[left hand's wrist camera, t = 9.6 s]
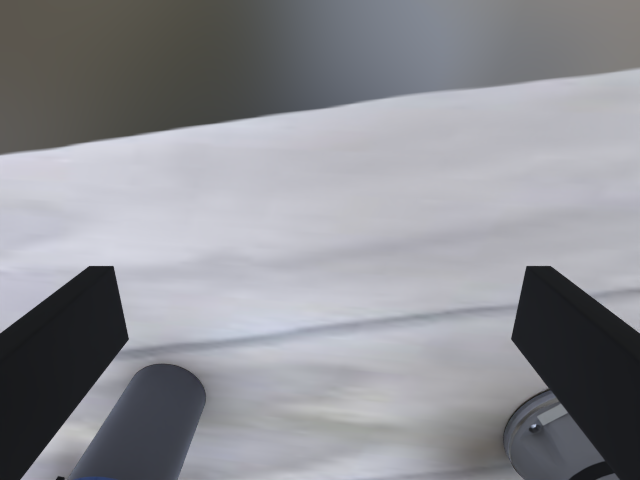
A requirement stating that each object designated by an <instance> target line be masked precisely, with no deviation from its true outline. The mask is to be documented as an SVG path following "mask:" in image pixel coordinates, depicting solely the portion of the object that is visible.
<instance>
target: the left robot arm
mask: <svg viewBox="0 0 640 480" xmlns="http://www.w3.org/2000/svg"><path fill="white" fill-rule="evenodd" d="M128 340H129V338H128V333H127V328H126V323H125V319H124V314H123V309H122V304H121V300H120V295H119V290H118V285H117V281H116V276H115V271H114V266H89V267H88V268H86V269H85V270H84V271H82V272H81V273H80V274H78V275H77V276H76V277H74V278H73V279H72V280H70V281H69V282H68V283H66V284H65V285H64V286H62V287H61V288H60V289H58V290H57V291H56V292H55V293H53V294H52V295H51V296H49V297H48V298H47V299H45V300H44V301H43V302H41V303H40V304H39V305H37V306H36V307H35V308H33V309H32V310H31V311H29V312H28V313H27V314H25V315H24V316H23V317H21V318H20V319H19V320H17V321H16V322H15V323H14V324H12V325H11V326H10V327H8V328H7V329H6V330H4V331H3V332H2V333H0V480H20V479H21V478H22V477H23V476H24V474H25V473H26V472H27V470H28V469H29V468H30V466H31V465H32V464H33V463H34V461H35V460H36V459H37V457H38V456H39V455H40V454H41V452H42V451H43V450H44V448H45V447H46V446H47V444H48V443H49V442H50V441H51V439H52V438H53V437H54V435H55V434H56V433H57V432H58V430H59V429H60V428H61V426H62V425H63V424H64V422H65V421H66V420H67V419H68V417H69V416H70V415H71V413H72V412H73V411H74V410H75V408H76V407H77V406H78V404H79V403H80V402H81V400H82V399H83V398H84V397H85V395H86V394H87V393H88V391H89V390H90V389H91V387H92V386H93V385H94V384H95V382H96V381H97V380H98V378H99V377H100V376H101V375H102V373H103V372H104V371H105V369H106V368H107V367H108V365H109V364H110V363H111V362H112V360H113V359H114V358H115V356H116V355H117V354H118V353H119V351H120V350H121V349H122V347H123V346H124V345H125V343H126V342H127V341H128ZM511 340H512V341H513V342H514V343H515V345H516V346H517V347H518V349H519V350H520V351H521V353H522V354H523V355H524V356H525V358H526V359H527V360H528V362H529V363H530V364H531V365H532V367H533V368H534V369H535V371H536V372H537V373H538V375H539V376H540V377H541V378H542V380H543V381H544V382H545V384H546V385H547V386H548V387H549V389H550V390H549V391H547V392H544V393H542V394H540V395H538V396H536V397H534V398H532V399H531V400H529V401H528V402H526V403H525V404H524V405H523V406H521V407H520V408H519V409H518V410H517V411H516V412H515V413H514V415H513V416H512V417H511V419H510V421H509V422H508V424H507V426H506V429H505V432H504V439H503V441H504V448H505V451H506V453H507V455H508V457H509V459H510V461H511V463H512V465H513V467H514V469H515V470H516V471H517V473H518V474H519V475H520V476H521V477H522V478H523V479H524V480H640V333H638V332H637V331H636V330H634V329H633V328H632V327H630V326H629V325H628V324H626V323H625V322H624V321H623V320H621V319H620V318H619V317H617V316H616V315H615V314H613V313H612V312H611V311H609V310H608V309H607V308H605V307H604V306H603V305H601V304H600V303H599V302H597V301H596V300H595V299H593V298H592V297H591V296H589V295H588V294H587V293H585V292H584V291H583V290H582V289H580V288H579V287H578V286H576V285H575V284H574V283H572V282H571V281H570V280H568V279H567V278H566V277H564V276H563V275H562V274H560V273H559V272H558V271H556V270H555V269H554V268H552V267H551V266H526V271H525V276H524V281H523V285H522V290H521V295H520V300H519V304H518V309H517V314H516V319H515V323H514V328H513V333H512V338H511Z"/></svg>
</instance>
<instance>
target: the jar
mask: <svg viewBox="0 0 640 480" xmlns="http://www.w3.org/2000/svg"><path fill="white" fill-rule="evenodd" d="M205 401H206V395H205V390H204V388H203V386H202V384H201V382H200V381H199V380H198V379H197V378H196V377H195V376H194V375H193V374H192V373H190V372H189V371H187V370H185V369H183V368H181V367H178V366H175V365H170V364H156V365H151V366H148V367H145V368H143V369H142V370H140V371H139V372H137V373H136V374H135V375H134V377H133V378H132V380H131V381H130V383H129V385H128V386H127V388H126V389H125V391H124V392H123V394H122V395H121V397H120V399H119V400H118V402H117V403H116V405H115V406H114V408H113V409H112V411H111V412H110V414H109V416H108V417H107V419H106V420H105V422H104V423H103V425H102V426H101V428H100V429H99V431H98V433H97V434H96V436H95V437H94V439H93V440H92V442H91V443H90V445H89V447H88V448H87V450H86V451H85V453H84V454H83V456H82V457H81V459H80V460H79V462H78V464H77V465H76V467H75V468H74V470H73V471H72V473H71V474H70V476H69V477H68V479H67V480H73V479H78V478H83V477H106V478H113V479H117V480H178V477H179V474H180V471H181V468H182V466H183V463H184V460H185V457H186V455H187V452H188V449H189V446H190V444H191V441H192V438H193V435H194V433H195V430H196V427H197V424H198V422H199V419H200V416H201V413H202V411H203V408H204V405H205Z"/></svg>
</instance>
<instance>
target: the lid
mask: <svg viewBox="0 0 640 480" xmlns="http://www.w3.org/2000/svg"><path fill="white" fill-rule="evenodd" d="M73 480H117V479H113V478H106V477H83V478H78V479H73Z"/></svg>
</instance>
